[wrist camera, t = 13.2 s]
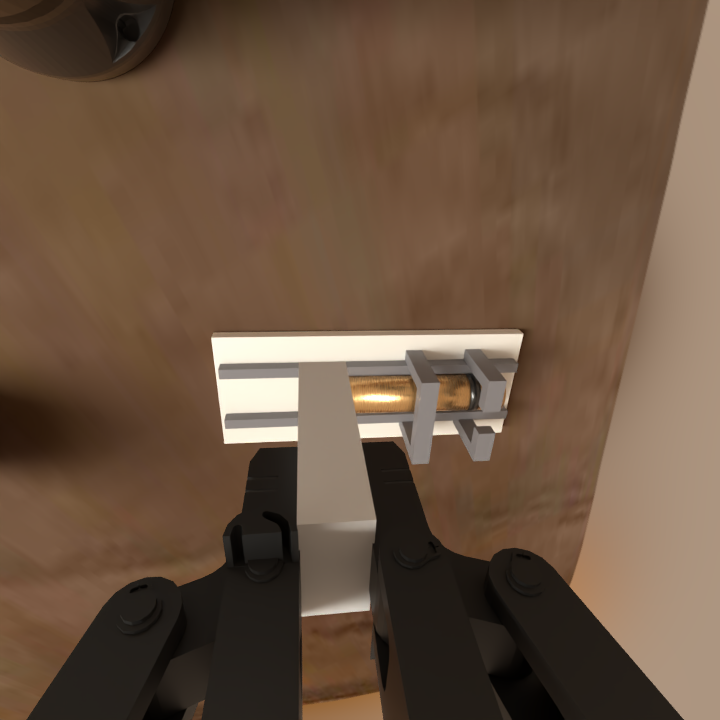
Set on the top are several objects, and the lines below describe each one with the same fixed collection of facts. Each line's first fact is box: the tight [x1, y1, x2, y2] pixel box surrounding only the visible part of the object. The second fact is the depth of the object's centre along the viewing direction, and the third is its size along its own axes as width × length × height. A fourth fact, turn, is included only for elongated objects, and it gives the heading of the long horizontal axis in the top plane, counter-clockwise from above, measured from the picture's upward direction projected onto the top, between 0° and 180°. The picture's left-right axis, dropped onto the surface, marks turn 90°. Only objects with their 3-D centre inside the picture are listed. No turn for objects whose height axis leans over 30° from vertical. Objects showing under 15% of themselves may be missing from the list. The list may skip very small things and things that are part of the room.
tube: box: [349, 374, 506, 413], centre depth 43 cm, size 16×4×4 cm, turn 88°
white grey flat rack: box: [211, 329, 523, 464], centre depth 42 cm, size 30×12×8 cm, turn 88°
